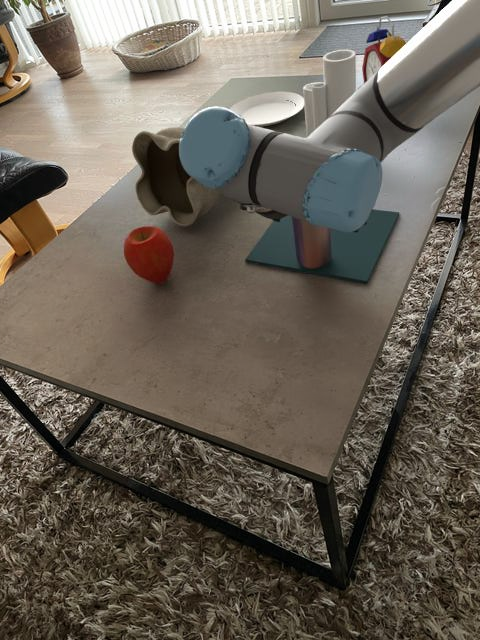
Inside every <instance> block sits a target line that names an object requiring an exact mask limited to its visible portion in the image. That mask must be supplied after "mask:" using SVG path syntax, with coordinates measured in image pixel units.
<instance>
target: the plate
mask: <svg viewBox="0 0 480 640" xmlns="http://www.w3.org/2000/svg"><path fill="white" fill-rule="evenodd" d="M286 100H289V101H286ZM290 101H292V102H293V103H292V102H290ZM294 103H295V104H296V106H295V104H294ZM304 108H305V107H304V96H303V95H301V94H298V93H295V92H290V91H270V92H263V93H259V94H255V95H252V96H249V97H246V98H244V99H241V100H240V101H238V102H236V103H234V104H233V105H232V106H231V107H230V108H229V110H230V111H232V112H234V113H235V114H239V115H240V116H241V118H244V119H245V121H246V123H248V124H250V125H253V126H257V127H261V128H262V127H268V126H273V125H277V124H279V123H282V122H284V121H286V120H288V119H289V118H291V117H293V116H295V115H296V114H298V113H299V112H301V111H302V110H303V109H304Z"/></svg>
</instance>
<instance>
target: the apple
mask: <svg viewBox="0 0 480 640" xmlns="http://www.w3.org/2000/svg"><path fill="white" fill-rule="evenodd" d="M123 257H124V259H125V261H126V264H127V265H128V267H129V268H130V269H131V270H132V272H133V273H134V274H135V275H137V276H138V277H139V278H141V279H143V280H145V281H148V282H149V283H152V284H155V285H160V284H164V283H165V282H167V280H168V279H169V277H170V275H171V272H172V269H173V265H174V260H175V251H174V246H173V243H172V241H171V239H170V238H169V236H168V235H167V233H166V232H165V231H164V230H162V229H161V228H159V227H157V226H141V227H137V228H135V229H132V230H131V232H129V234H128V235H127V236H126V238H125V240H124V242H123Z"/></svg>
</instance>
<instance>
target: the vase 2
mask: <svg viewBox="0 0 480 640" xmlns="http://www.w3.org/2000/svg"><path fill="white" fill-rule="evenodd" d="M356 55H357V53H356V51H355V50H352V49H337V50H332V51H330V52H327V53H325V54H324V55H323V56H322V71H323V73H322V74H323V82H320V81H316V82H309V83H307V84H305V85H303V87H302V92H303V98H304V107H303V108H304V120H305V131H306V133H305V134H306V138H307V137H308V136H309V135H310V134H311V133H313V132H314V131H315V130H316V129H317V128H318V127H319V126H320V125H321V124H322V123H323V122H324V121H325V120H326V119H327V118H329V117H330V116H331V115H332V114H333V113H334V112H335V111H336V110H337V109H338V108H339V107H340V106H341V105H342V104H343V103H344V102H345V101H346V100H347V99H348V98H349V97H350V96H351V95H352V94H353V93H354V92H355V91H356V90H357V64H356V63H357V62H356V58H357V56H356Z"/></svg>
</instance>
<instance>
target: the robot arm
mask: <svg viewBox="0 0 480 640" xmlns="http://www.w3.org/2000/svg"><path fill="white" fill-rule="evenodd" d="M479 87H480V0H451V1H450V2H449V3H448V4H447V5H446V6H445V7H444V8H443V9H441V10H440V11H439V13H438V14H436V15H435V16H434V17H433V18H432V19H431V20H430V21H429V22H428V23H427V24H426V25H425V26H424V27H423V28H421V30H420V31H418V32H417V33H416V34H415V35H414V36H413V37H412V38H411V39H410V40H409V41H408V42H406V45H405V46H404V47H403V48H402V49H401V50H400V51H398V52H397V53H396V54H395V55H394V56H393V57H392V58H391V59H390V60H389V61H388V62H387V63H386V64H385V65H384V66H383V67H382V68H381V69H380V70H379V71H378V72H377V73H375V74H374V75H373V76H372V77H371V78H370V79H369V80H368V81H367V82H366V83H364V82H363V83H362V84H361V85H360V86H359V87H357V88H356V91H355V92H354V93H353V94H352V95H351V96H350V97H349V98H348V99H347V100H346V101H345V102H344V103H343V104H342V105H341V106H340V107H339V108H338V109H337V110H336V111H335V112H334V113H333V114H332V115H331V116H330V117H329V118H327V119H326V120H325V121H324V122H323V123H322V124H321V125H320V126H319V127H318V128H317V129H316V130H315V131H314V132H313V133H311V134H310V135H309V136H308V137H307V136H306V137H302V136H297V135H294V134H290V133H286V132H280V131H275V130H272V129H268V128H264V127H262V126H261V127H257V126H253V125H250V124H248V123H246V121H245V119H244V118H241V116H240V115H239V114H235V113H234V112H232V111H230V108H229V109H228V108H227V107H224V106H210V107H206V108H203V109H201V110H200V111H198V112H197V113H195V114H193V116H192V117H191V118H190V119H189V120H188V122H186V125H185V126H184V127H183V128H184V130H183V133H182V135H181V139H180V144H179V156H180V160H181V163H182V166H183V168H184V169H185V171H186V172H187V173H188V174H189V175H190V176H191V177H192V178H194V179H195V180H197V181H198V182H199V183H201V185H202V186H203V187H207V188H210V189H213V190H215V191H217V192H219V194H220V195H223V196H225V197H227V198H228V199H231V200H232V201H234V202H235V203H238V204H239V205H240V206H239V207H240V209H241V210H242V211H246V212H247V213H248V214H251V215H252V214H255V213H256V214H258V215H259V216H260V217H264V218H266V219H270V220H272V221H276V222H280V219H281V218H283V217H286V216H288V215H289V216H292V217H295V218H298V219H301V220H303V221H306V222H309V223H311V224H312V225H315V226H318V227H319V226H321V227H328V228H331V229H335V230H339V231H343V232H357V233H358V231H359V228H360V227H361V226H362V225H366V224H367V220H368V217H369V215H370V212H371V210H372V209H374V208H375V205H376V203H377V200H378V197H379V194H380V190H381V187H382V182H383V181H382V180H383V165H382V162H383V161H384V160H385V159H386V158H387V157H388V155H390V154H391V153H392V152H393V151H394V150H396V149H397V148H398V147H399V146H401V145H402V144H404V143H405V142H406V141H407V140H409V139H411V138H412V137H413V136H414V135H416V134H417V133H419V131H421V130H422V129H423V128H424V127H425V126H427V125H429V123H431V122H432V121H433V120H435V119H436V118H438V117H439V116H440V115H442V114H444V113H445V112H446V111H448V110H449V109H450V108H452V107H453V106H454V105H456V104H457V103H458V102H460V101H461V100H462V99H464V98H466V97H467V96H468V95H470V94H471V93H472V92H474V91H475V90H476V89H478V88H479Z"/></svg>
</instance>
